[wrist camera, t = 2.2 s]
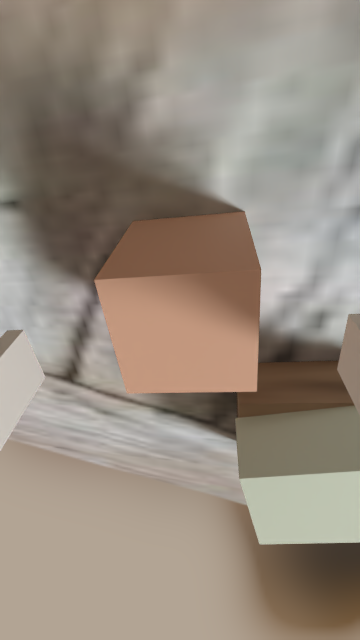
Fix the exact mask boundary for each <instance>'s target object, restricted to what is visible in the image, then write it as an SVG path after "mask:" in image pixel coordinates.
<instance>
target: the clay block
mask: <svg viewBox="0 0 360 640" xmlns="http://www.w3.org/2000/svg"><path fill="white" fill-rule="evenodd" d="M94 282H95V285H96V289H97V292H98V295H99V299H100V302H101V306H102V309H103V313H104V316H105V319H106V323H107V326H108V330H109V333H110V336H111V340H112V343H113V347H114V350H115V354H116V357H117V360H118V364H119V367H120V371H121V374H122V377H123V381H124V384H125V388H126V391H127V393H192V392H257V374H258V346H259V317H260V288H261V267H260V264H259V260H258V257H257V253H256V250H255V246H254V243H253V239H252V236H251V232H250V229H249V225H248V222H247V218H246V215H245V211H243V212H231V213H220V214H208V215H197V216H186V217H174V218H163V219H151V220H140V221H133V222H132V223H131V225H130V226H129V228H128V229H127V231H126V232H125V234H124V235H123V237H122V238H121V240H120V241H119V243H118V244H117V246H116V247H115V249H114V251H113V252H112V254H111V255H110V257H109V258H108V260H107V261H106V263H105V264H104V266H103V267H102V269H101V270H100V272H99V273H98V275H97V276H96V278H95V279H94Z"/></svg>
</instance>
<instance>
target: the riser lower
mask: <svg viewBox="0 0 360 640" xmlns="http://www.w3.org/2000/svg"><path fill="white" fill-rule="evenodd" d="M338 363H339V360H338V361H304V362H270V363H258V374H257V392H236V394H237V418H241V417H251V416H260V415H270V414H279V413H288V412H298V411H307V410H317V409H326V408H335V407H345V406H354V403H353V401H352V399H351V397H350V395H349V393H348V391H347V389H346V387H345V385H344V383H343V381H342V378H341V376H340V374H339V372H338V370H337V367H338Z"/></svg>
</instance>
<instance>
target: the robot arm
mask: <svg viewBox="0 0 360 640" xmlns="http://www.w3.org/2000/svg"><path fill="white" fill-rule="evenodd" d="M337 370H338V372H339V374H340V376H341V378H342V381H343V383H344V385H345V387H346V389H347V391H348V393H349V395H350V397H351V399H352V401H353V403H354V405H355V407H356V409H357V411H358V413H359V415H360V314H349V315H348V320H347V325H346V330H345V334H344V339H343V344H342V348H341V353H340V358H339V363H338V367H337ZM44 379H45V375H44V373H43V371H42V369H41V367H40V364H39V362H38V360H37V358H36V356H35V353H34V351H33V349H32V347H31V345H30V342H29V340H28V338H27V336H26V334H25V331H24V330H9V331H6V332H5V333H4V335H3V336H2V337H1V338H0V450H1V449H2V447H3V446H4V444H5V442H6V441H7V439H8V438H9V436H10V434H11V433H12V431H13V429H14V428H15V426H16V425H17V423H18V421H19V420H20V418H21V416H22V415H23V413H24V412H25V410H26V408H27V407H28V405H29V403H30V402H31V400H32V398H33V397H34V395H35V394H36V392H37V390H38V389H39V387H40V385H41V384H42V382H43V381H44Z"/></svg>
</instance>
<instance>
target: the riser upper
mask: <svg viewBox="0 0 360 640" xmlns="http://www.w3.org/2000/svg"><path fill="white" fill-rule="evenodd" d="M235 424H236V439H237V453H238V467H239V479H240V483H241V486H242V489H243V492H244V496H245V499H246V502H247V505H248V508H249V512H250V515H251V518H252V521H253V524H254V527H255V531H256V534H257V537H258V541H259V544H293V543H294V544H297V543H298V544H299V543H344V542H345V543H348V542H360V415H359V413H358V411H357V409H356V407H355V405H354V406H345V407H335V408H326V409H317V410H307V411H298V412H288V413H279V414H270V415H260V416H251V417H241V418H235Z"/></svg>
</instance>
